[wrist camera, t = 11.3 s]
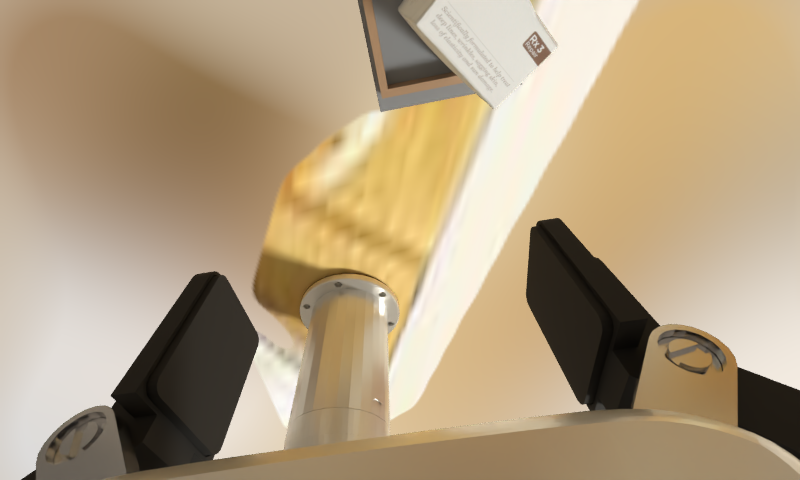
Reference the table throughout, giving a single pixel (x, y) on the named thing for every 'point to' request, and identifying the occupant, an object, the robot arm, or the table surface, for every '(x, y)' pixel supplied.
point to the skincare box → (483, 41)
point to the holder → (404, 60)
